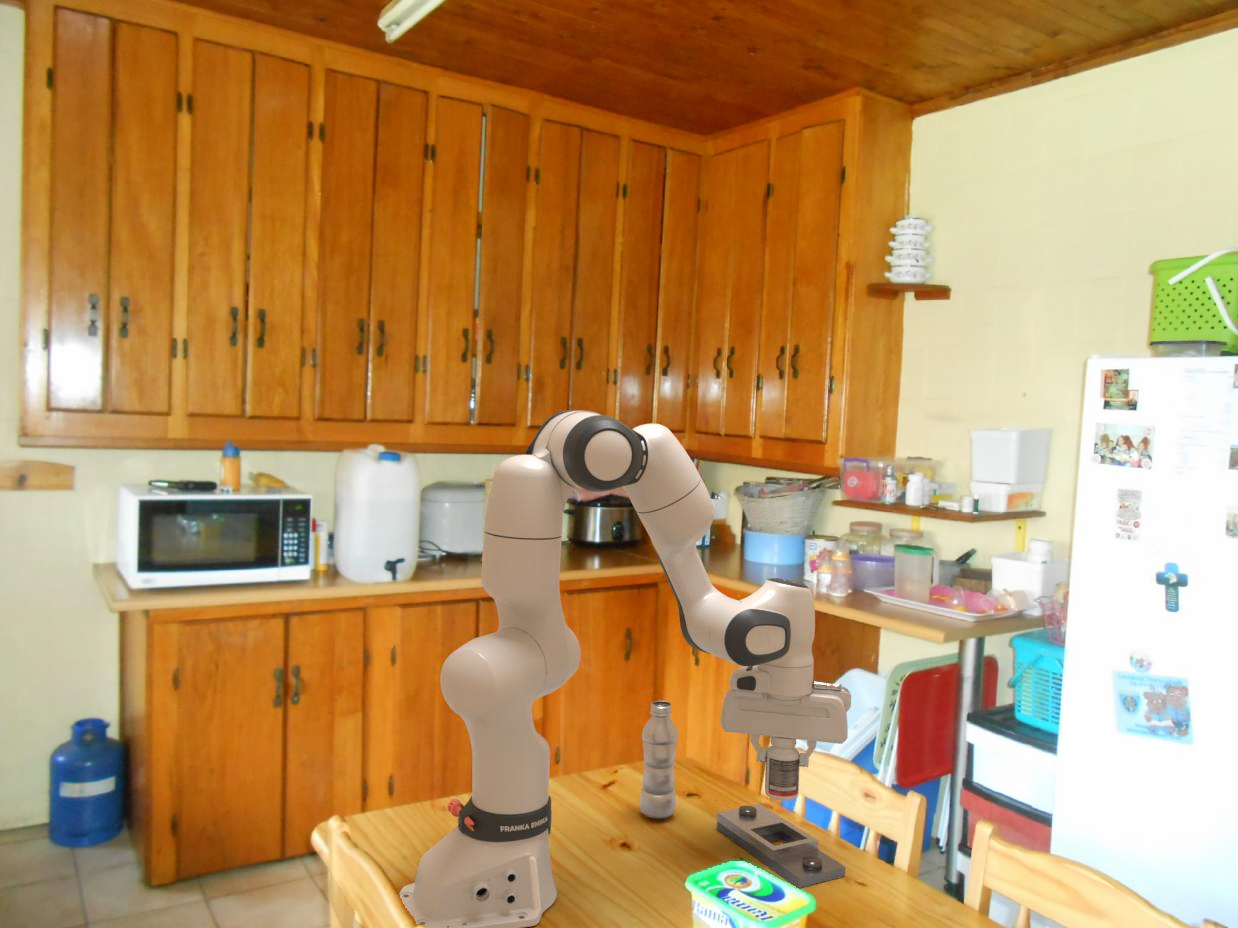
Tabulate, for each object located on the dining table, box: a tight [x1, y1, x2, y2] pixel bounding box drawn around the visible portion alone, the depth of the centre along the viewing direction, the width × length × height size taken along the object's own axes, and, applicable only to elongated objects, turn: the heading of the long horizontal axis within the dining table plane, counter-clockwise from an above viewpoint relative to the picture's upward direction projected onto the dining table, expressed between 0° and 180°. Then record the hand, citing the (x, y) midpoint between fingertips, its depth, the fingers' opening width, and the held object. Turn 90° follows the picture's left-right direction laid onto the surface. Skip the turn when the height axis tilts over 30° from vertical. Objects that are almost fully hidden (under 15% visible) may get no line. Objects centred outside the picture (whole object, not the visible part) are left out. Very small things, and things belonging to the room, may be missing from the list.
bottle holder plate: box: [716, 803, 846, 889], centre depth 152 cm, size 9×22×4 cm, turn 28°
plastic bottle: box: [639, 700, 679, 820], centre depth 164 cm, size 6×7×20 cm
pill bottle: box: [764, 736, 800, 802], centre depth 152 cm, size 5×5×10 cm
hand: (782, 763), depth 152 cm, fingers closed on pill bottle, 5 cm apart
